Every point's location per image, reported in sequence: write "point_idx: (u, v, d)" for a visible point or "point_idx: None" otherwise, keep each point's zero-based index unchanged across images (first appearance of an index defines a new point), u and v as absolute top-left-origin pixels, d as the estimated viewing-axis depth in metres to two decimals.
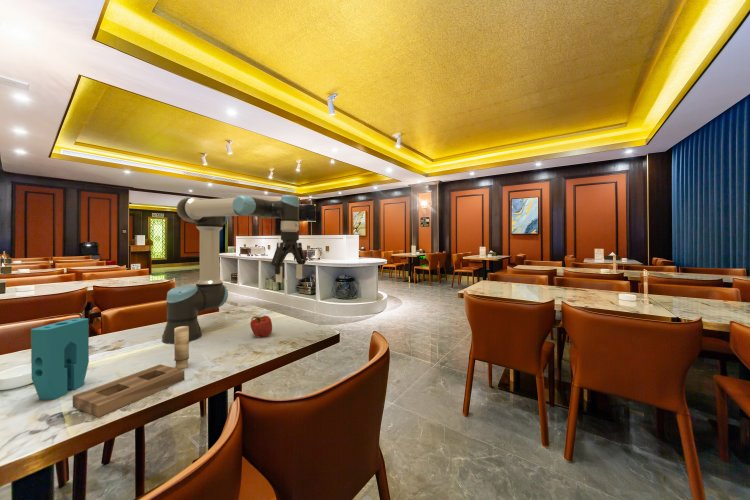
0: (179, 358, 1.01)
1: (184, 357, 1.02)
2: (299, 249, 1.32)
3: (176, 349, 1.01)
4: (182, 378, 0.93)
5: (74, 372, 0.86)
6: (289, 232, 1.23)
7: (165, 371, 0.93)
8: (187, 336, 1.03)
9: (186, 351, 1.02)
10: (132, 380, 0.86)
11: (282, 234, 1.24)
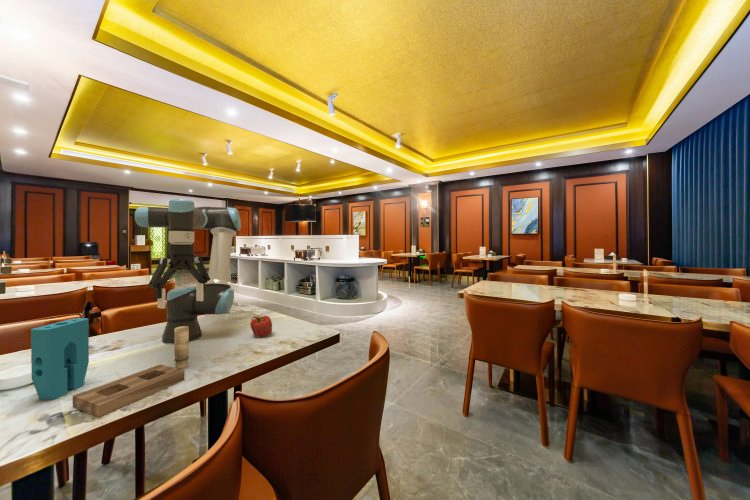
0: (179, 358, 1.01)
1: (184, 357, 1.02)
2: (199, 265, 1.07)
3: (176, 349, 1.01)
4: (182, 378, 0.93)
5: (74, 372, 0.86)
6: (177, 245, 0.99)
7: (165, 371, 0.93)
8: (187, 336, 1.03)
9: (186, 351, 1.02)
10: (132, 380, 0.86)
11: (169, 247, 0.99)
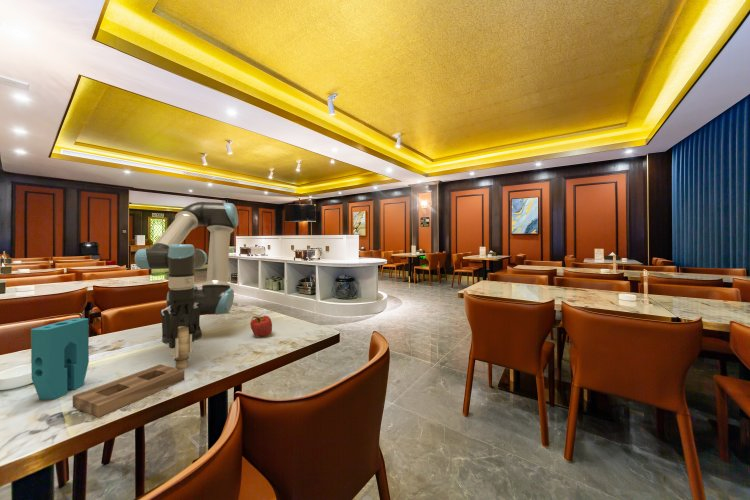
0: (179, 358, 1.01)
1: (184, 357, 1.02)
2: (195, 311, 1.07)
3: None
4: (182, 378, 0.93)
5: (74, 372, 0.86)
6: (177, 291, 0.99)
7: (165, 371, 0.93)
8: (187, 336, 1.03)
9: (186, 351, 1.02)
10: (132, 380, 0.86)
11: (169, 293, 0.99)
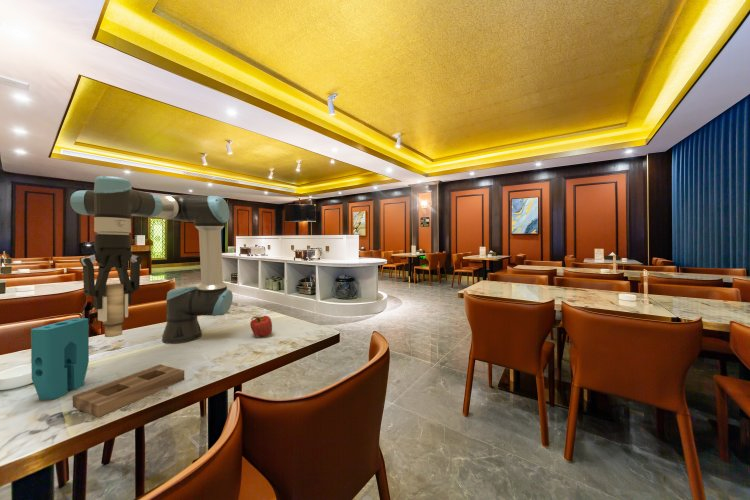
0: (108, 322, 0.79)
1: (116, 322, 0.79)
2: (134, 266, 0.85)
3: None
4: (182, 378, 0.93)
5: (74, 372, 0.86)
6: (104, 235, 0.77)
7: (165, 371, 0.93)
8: (120, 295, 0.80)
9: (119, 314, 0.80)
10: (132, 380, 0.86)
11: (94, 238, 0.77)
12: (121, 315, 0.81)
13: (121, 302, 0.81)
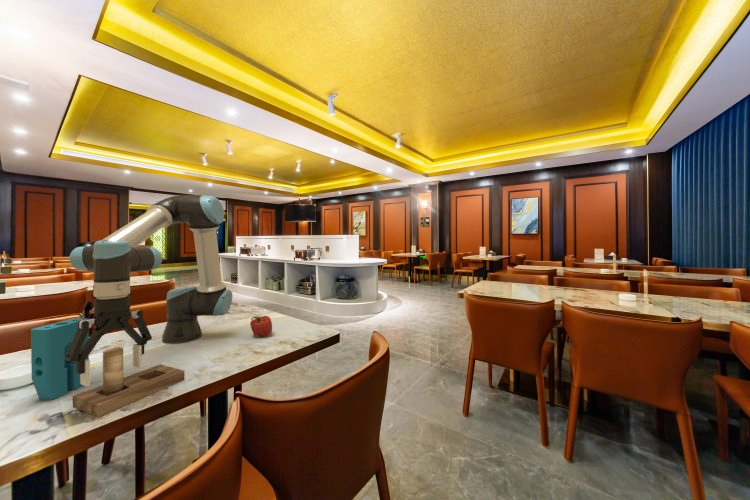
0: (108, 390, 0.79)
1: (115, 388, 0.80)
2: (137, 321, 0.86)
3: (104, 378, 0.79)
4: (182, 378, 0.93)
5: (74, 372, 0.86)
6: (104, 301, 0.77)
7: (165, 371, 0.93)
8: (120, 361, 0.81)
9: (119, 380, 0.80)
10: (132, 380, 0.86)
11: (94, 303, 0.77)
12: (121, 381, 0.81)
13: (121, 368, 0.81)
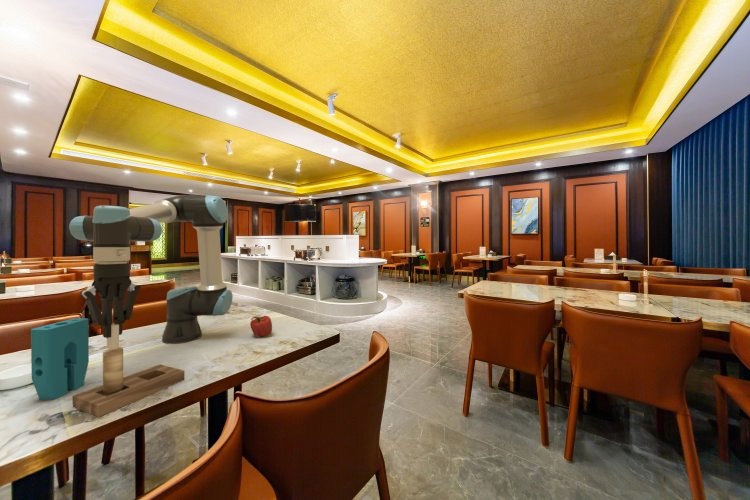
0: (108, 390, 0.79)
1: (115, 388, 0.80)
2: (130, 294, 0.84)
3: (104, 378, 0.79)
4: (182, 378, 0.93)
5: (74, 372, 0.86)
6: (103, 265, 0.77)
7: (165, 371, 0.93)
8: (120, 361, 0.81)
9: (119, 380, 0.80)
10: (132, 380, 0.86)
11: (93, 268, 0.77)
12: (121, 381, 0.81)
13: (121, 368, 0.81)
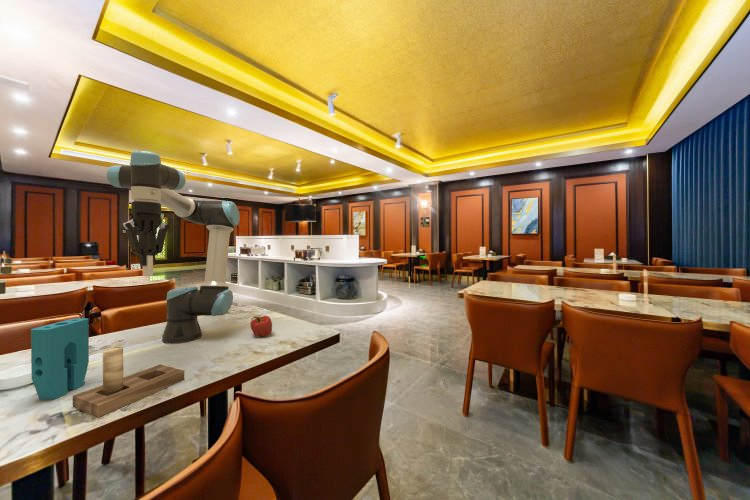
0: (108, 390, 0.79)
1: (115, 388, 0.80)
2: (161, 231, 0.97)
3: (104, 378, 0.79)
4: (182, 378, 0.93)
5: (74, 372, 0.86)
6: (140, 202, 0.89)
7: (165, 371, 0.93)
8: (120, 361, 0.81)
9: (118, 380, 0.80)
10: (132, 380, 0.86)
11: (131, 205, 0.90)
12: (121, 381, 0.81)
13: (121, 368, 0.81)
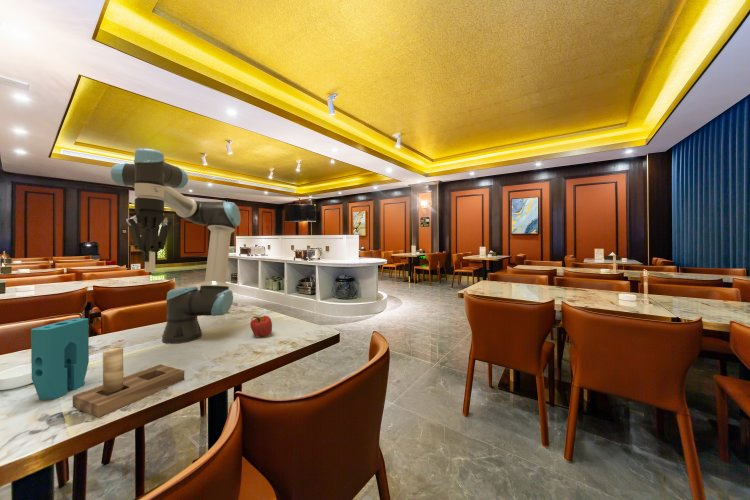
0: (108, 390, 0.79)
1: (115, 388, 0.80)
2: (163, 228, 0.98)
3: (104, 378, 0.79)
4: (182, 378, 0.93)
5: (74, 372, 0.86)
6: (143, 198, 0.91)
7: (165, 371, 0.93)
8: (120, 361, 0.81)
9: (119, 380, 0.80)
10: (132, 380, 0.86)
11: (135, 201, 0.91)
12: (121, 381, 0.81)
13: (121, 368, 0.81)
